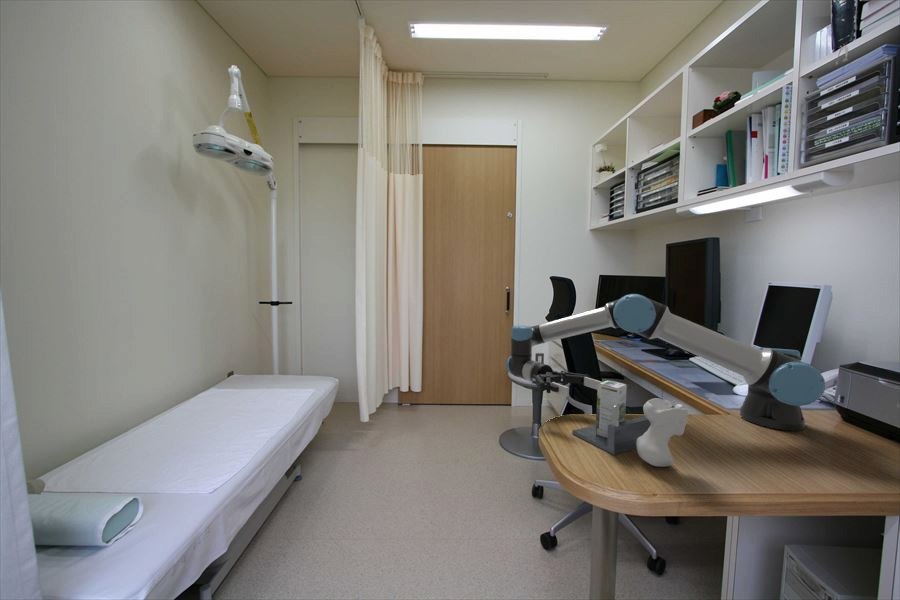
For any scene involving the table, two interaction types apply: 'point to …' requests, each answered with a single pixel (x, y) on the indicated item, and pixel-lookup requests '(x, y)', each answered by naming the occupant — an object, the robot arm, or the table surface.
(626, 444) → the grey piece
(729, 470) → the table surface
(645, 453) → the white sculpture
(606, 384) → the syrup box
